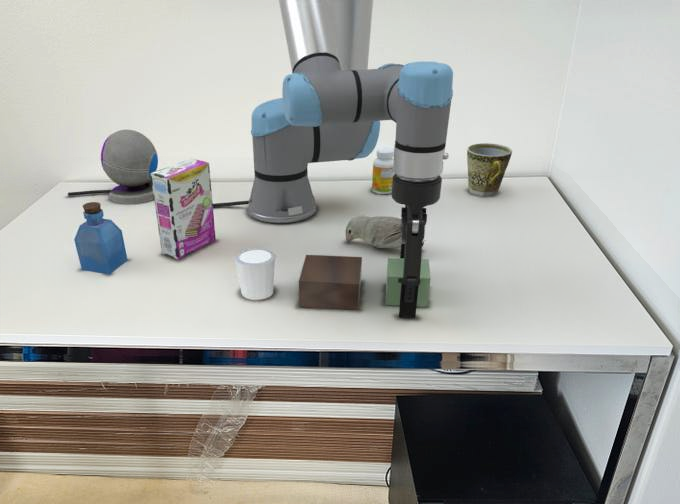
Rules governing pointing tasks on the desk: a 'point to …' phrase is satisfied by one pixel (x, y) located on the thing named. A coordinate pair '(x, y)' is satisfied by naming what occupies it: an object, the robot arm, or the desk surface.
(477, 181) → the ceramic cup
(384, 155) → the supplement bottle
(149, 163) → the grey ball on base
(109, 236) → the perfume bottle
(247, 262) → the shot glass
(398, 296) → the green block
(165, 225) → the candy bar box
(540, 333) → the desk surface
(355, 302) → the walnut block
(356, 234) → the decorative bird
